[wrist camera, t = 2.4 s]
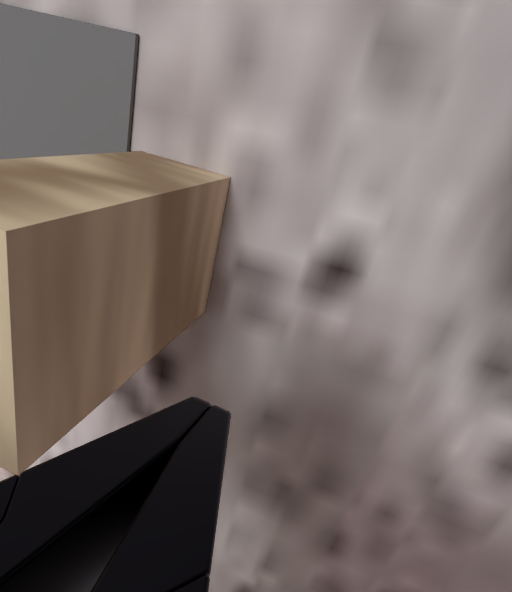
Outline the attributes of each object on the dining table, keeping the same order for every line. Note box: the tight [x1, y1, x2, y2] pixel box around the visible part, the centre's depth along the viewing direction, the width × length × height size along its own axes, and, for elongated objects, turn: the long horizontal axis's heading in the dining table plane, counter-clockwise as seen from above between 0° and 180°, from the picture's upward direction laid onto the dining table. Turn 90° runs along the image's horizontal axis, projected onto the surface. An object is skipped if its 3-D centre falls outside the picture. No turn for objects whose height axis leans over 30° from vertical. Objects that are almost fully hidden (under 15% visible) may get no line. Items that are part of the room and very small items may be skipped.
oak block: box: [0, 151, 230, 476], centre depth 13 cm, size 4×6×10 cm, turn 167°
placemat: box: [0, 3, 139, 159], centre depth 19 cm, size 12×14×1 cm
